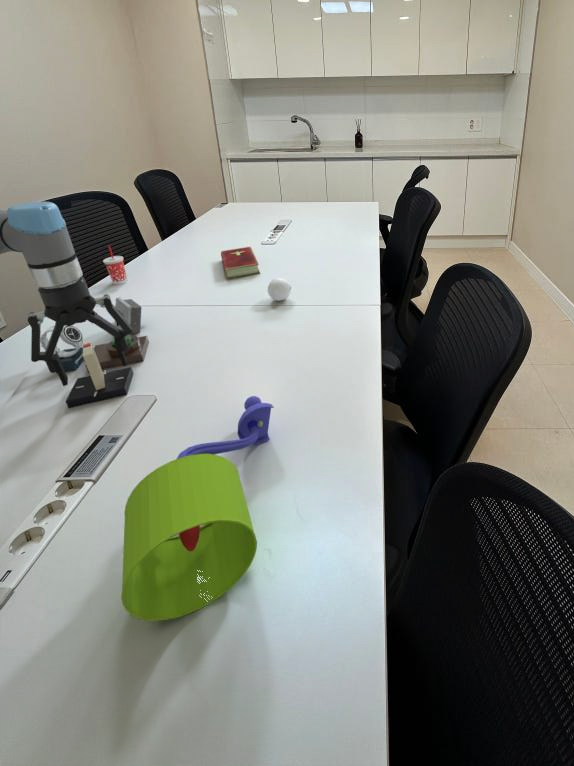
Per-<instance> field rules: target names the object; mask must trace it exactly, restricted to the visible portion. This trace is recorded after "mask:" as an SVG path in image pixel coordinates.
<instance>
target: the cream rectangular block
mask: <svg viewBox="0 0 574 766" xmlns="http://www.w3.org/2000/svg"><path fill="white" fill-rule="evenodd" d="M82 347H83V358H84V363H85V365H86V366H87V368H88V371H89V373H88V374H89V376H91V378H92V381H93V383H94V386H95V388H96V390H99V389H102V388H105V382H104V375H103V373H104V371H103V370H102V369H101V367H100V364H99V361H98V359H97V356H96V353H95V351H94V345H93V343H92V342H88V343H83V344H82ZM86 366H85V367H86ZM87 368H86V369H87ZM88 371H87V372H88Z"/></svg>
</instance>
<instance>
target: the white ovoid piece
mask: <svg viewBox="0 0 574 766" xmlns="http://www.w3.org/2000/svg"><path fill="white" fill-rule="evenodd" d="M291 290H292V287H291V284H290V282H289V281H288V280H287V279H285V278H282V277H276V278H273V279H272V280H271V281H270V282H269V283H268V286H267V294H268V296H269V297H270V298H271V299H272V300H274V301H277V302H280V301H281V302H282V301H284V300H286V299H287V298H288V297H289V296H290V295H291V292H292V291H291Z"/></svg>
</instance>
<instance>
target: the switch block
mask: <svg viewBox="0 0 574 766" xmlns="http://www.w3.org/2000/svg"><path fill="white" fill-rule="evenodd" d="M130 336H131V339H132V342H131V343H130V344H129V345H127V346H128V349H127V350H126V351H123V352H124V355H125V358H126V362H127V365H126V366H128V365H132V364H133V365H134V364H136V363H141V362H144V361H145V359H146V355H147V351H148V347H149V344H150V340H149V338H148V335H143V336H137V335H136V334H130ZM93 348H94V351H95V353H96V356H97V359H98V361H99V364H100V367H101V369H102V371H103V370H104V371H105V370H108V369H109V370H110V369H113V368H118V367H124V366H123V365H122V362H121V359H120V356H119V353H118V350H117V348H115V347H114V346H113V343H112V340H111V341H110V342H107V343H101V344H96V345H94V346H93ZM85 369H86V371H87V373H88V374H90V373H89V371H88V368H87V366H86V364H85Z"/></svg>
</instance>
